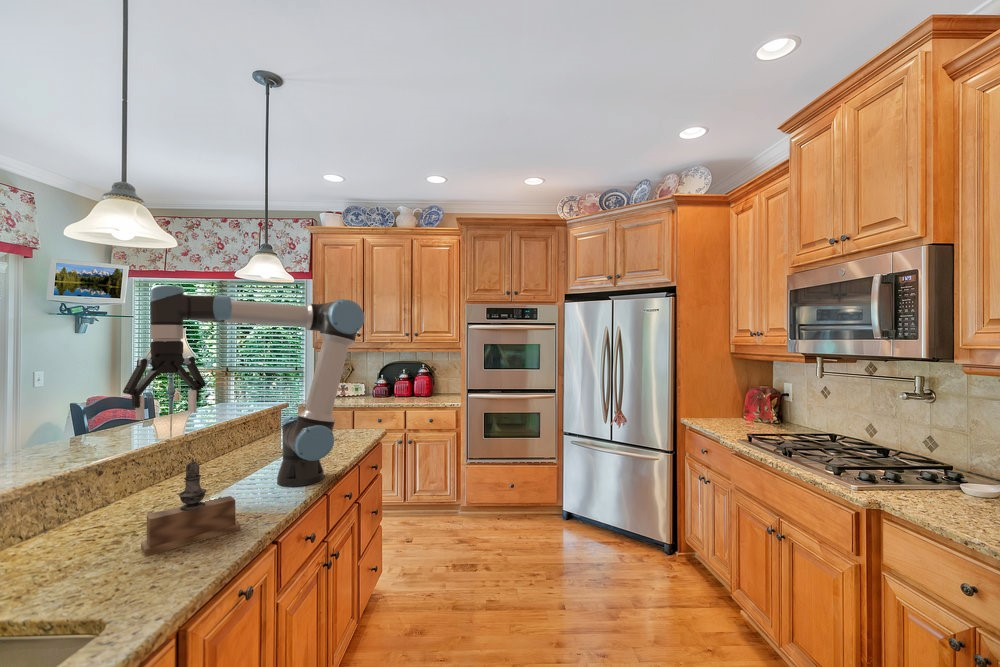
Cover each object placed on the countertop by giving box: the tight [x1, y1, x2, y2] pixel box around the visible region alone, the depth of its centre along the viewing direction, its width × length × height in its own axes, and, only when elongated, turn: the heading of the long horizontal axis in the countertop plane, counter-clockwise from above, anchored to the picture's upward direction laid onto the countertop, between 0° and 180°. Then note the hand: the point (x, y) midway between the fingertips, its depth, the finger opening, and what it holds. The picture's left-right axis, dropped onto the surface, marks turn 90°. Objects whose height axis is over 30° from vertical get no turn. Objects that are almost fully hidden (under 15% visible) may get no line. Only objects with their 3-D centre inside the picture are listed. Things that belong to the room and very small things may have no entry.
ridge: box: [140, 495, 241, 557], centre depth 115 cm, size 20×6×8 cm, turn 135°
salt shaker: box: [178, 458, 207, 511], centre depth 116 cm, size 6×6×12 cm
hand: (167, 415), depth 129 cm, fingers open, 13 cm apart
